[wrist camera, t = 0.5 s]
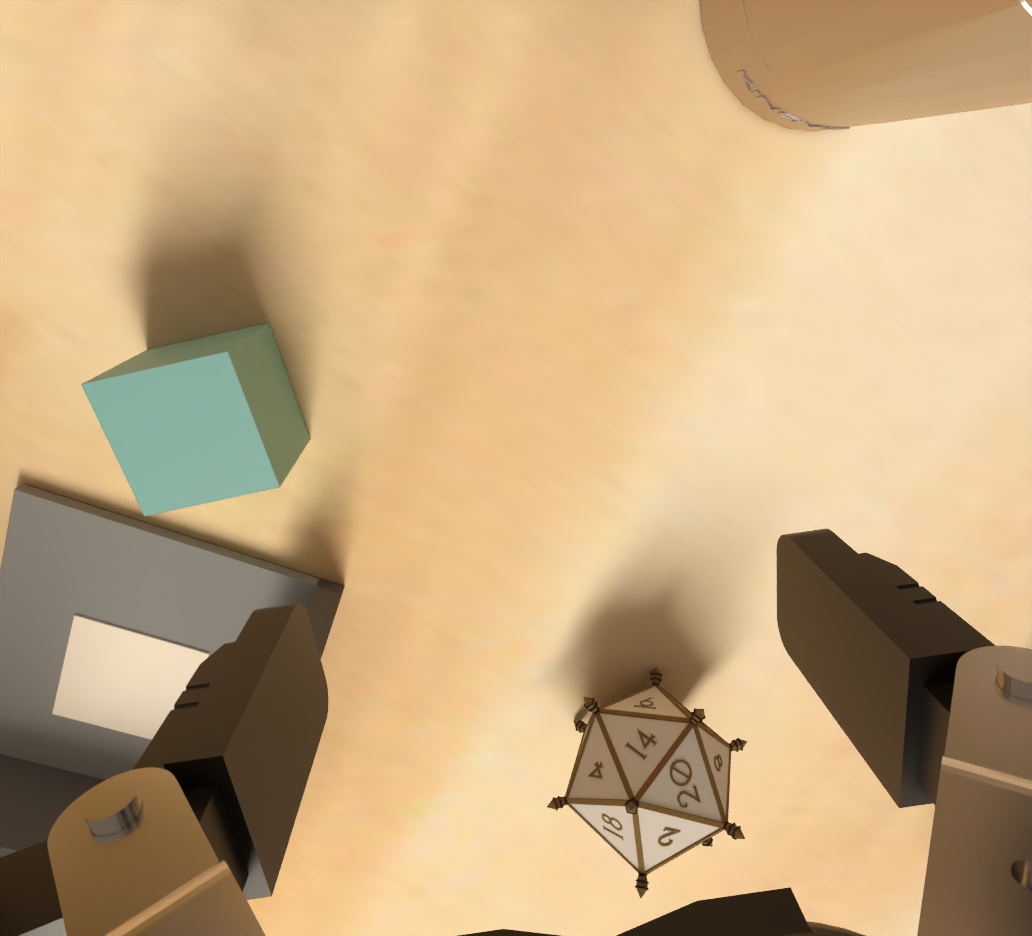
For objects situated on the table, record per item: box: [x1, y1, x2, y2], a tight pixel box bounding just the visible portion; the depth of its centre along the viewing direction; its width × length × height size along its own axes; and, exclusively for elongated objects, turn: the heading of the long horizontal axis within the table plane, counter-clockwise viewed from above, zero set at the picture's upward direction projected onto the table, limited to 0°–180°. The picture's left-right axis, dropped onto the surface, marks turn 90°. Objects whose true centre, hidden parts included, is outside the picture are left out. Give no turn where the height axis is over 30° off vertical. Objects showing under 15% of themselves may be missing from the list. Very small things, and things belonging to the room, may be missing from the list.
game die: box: [547, 668, 747, 898], centre depth 32 cm, size 9×8×10 cm
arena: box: [0, 484, 344, 857], centre depth 31 cm, size 16×14×5 cm
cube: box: [81, 323, 310, 516], centre depth 26 cm, size 5×5×5 cm
